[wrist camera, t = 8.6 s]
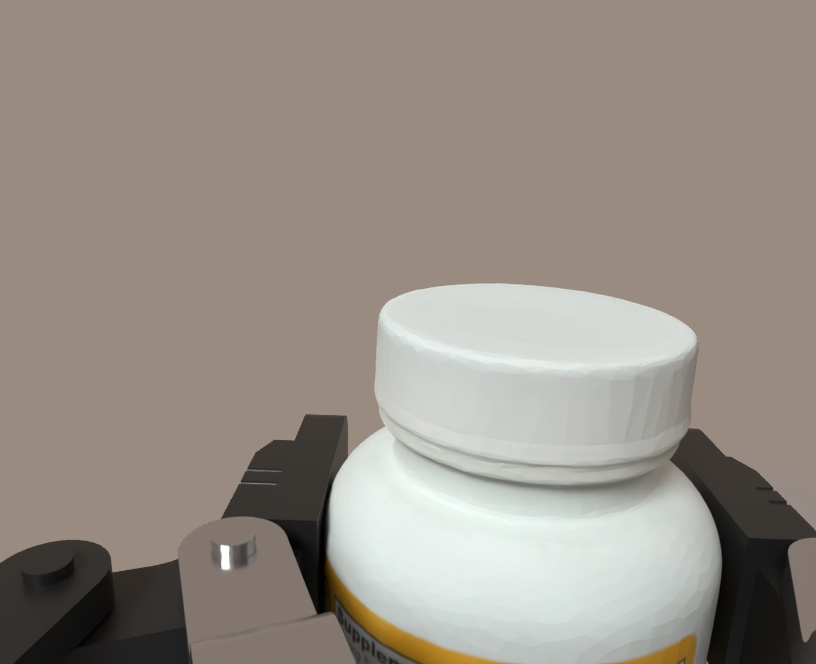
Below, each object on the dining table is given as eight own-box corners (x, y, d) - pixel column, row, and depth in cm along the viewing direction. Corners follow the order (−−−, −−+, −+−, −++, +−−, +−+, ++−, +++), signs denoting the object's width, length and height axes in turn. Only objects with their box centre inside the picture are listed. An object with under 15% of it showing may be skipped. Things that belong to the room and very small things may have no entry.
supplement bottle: (555, 1217, 8) (672, 442, 5) (251, 894, 11) (226, 313, 8) (699, 852, 12) (805, 314, 9) (447, 693, 15) (472, 261, 12)
